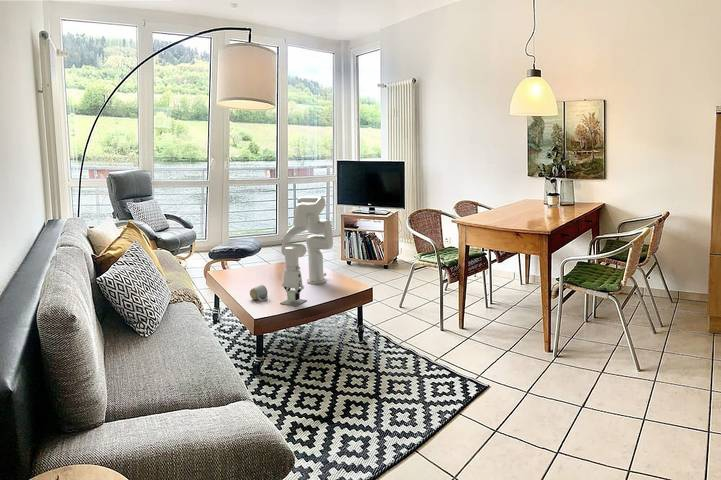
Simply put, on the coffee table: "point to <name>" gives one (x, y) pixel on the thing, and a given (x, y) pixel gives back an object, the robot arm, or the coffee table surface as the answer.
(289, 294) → the cube
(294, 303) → the coaster
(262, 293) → the ceramic mug
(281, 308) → the coffee table surface
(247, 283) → the coffee table surface
